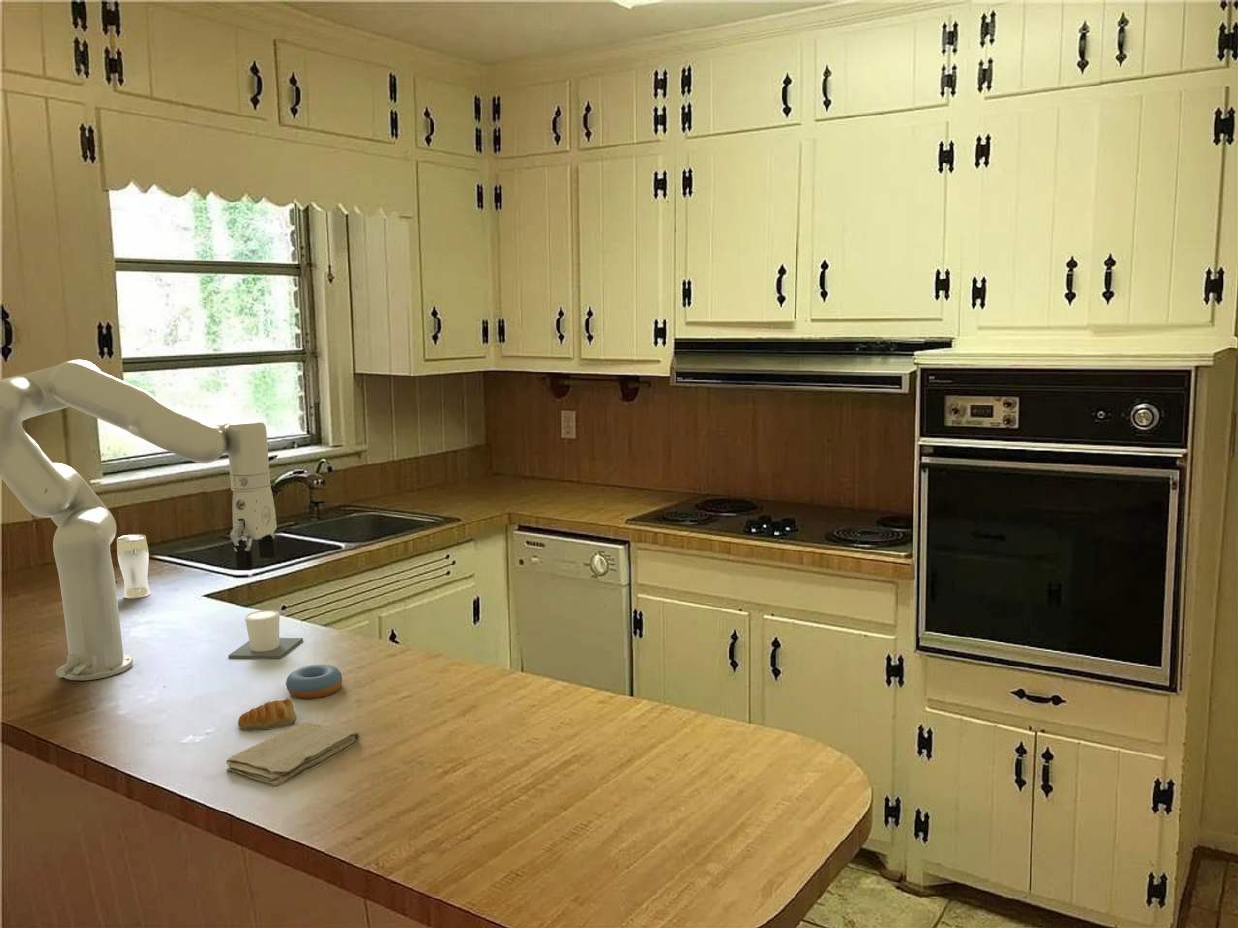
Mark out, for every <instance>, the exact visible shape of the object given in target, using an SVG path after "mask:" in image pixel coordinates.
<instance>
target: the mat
mask: <svg viewBox="0 0 1238 928" xmlns="http://www.w3.org/2000/svg"><path fill="white" fill-rule="evenodd" d="M303 641H304V638H303V637H279V646H278V647H277V648H275V649H273V650H269V651H258V652H257V651H253V650H251V647H250V641H249V640H248V641H247V642H245V643H244V644H242V645H241V646H240V647H238V648H236V649H235V650H234V651H232V652H231V653H230V654H228V659H255V658H273V659H274V658H276V659H274V660H279V659H282V658H283V657H284V656H286V655H287V654H289V652H290V650H291V651H292V650H293V649H294V648H296V647H297V646H299V645H300V644H301V643H302V642H303ZM285 654H286V655H285ZM273 659H272V660H273Z"/></svg>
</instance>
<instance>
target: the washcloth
mask: <svg viewBox="0 0 1238 928" xmlns="http://www.w3.org/2000/svg"><path fill="white" fill-rule="evenodd" d="M360 738H361V735H360V733H359V732H356V731H355V730H354V731H353V730H348V729H343V728H333V727H329V726H327V725H324V724H319V723H315V722H309V721H305V722H302V723H300V724H298V725H295V726H293V727H292V728H290V729H287V730H285V731H281V732H280V733H278V734H275V735H274V736H271V737H270V738H268V739H267V738H266V739H265V740H263V741H261V742H259V743H257V744H255V745H254V746H251V747H249V748H247V749H245V750H243V751H240V752H237V754H236V753H235V754H234V755H232V756H230V757H229V758H228V759H227V760H226V761H225V762H226V765H227V766H228V768H227V769H226V773H230V772H231V773H232V775H234V776H236V777H238V778H241V779H242V778H243V779H246V780H249V781H253V782H256V783H259V784H263V785H267V786H270V787H275V786H279V785H281V784H284V783H287V782H289V781H290V780H293V779H295V778H297V777H300V776H301V775H303V774H305V773H307V772H309V771H310V770H312V769H314V768H317V766H319V765H321V764H323V763H326V762H327V761H329V760H330V759H333V758H334V757H336V756H338V755H339V754H341V753H343V752H345V751H347V750H348V749H350V748H353V747H354V746H356V745H357V744H358V743H359V741H360Z"/></svg>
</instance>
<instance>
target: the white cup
mask: <svg viewBox="0 0 1238 928" xmlns="http://www.w3.org/2000/svg"><path fill="white" fill-rule="evenodd" d="M280 618H281V616H280V611H277V610H274V609H267V610H266V609H265V610H258V611H253V612H250V613H247V614H246V615H245V616H244V619H245V620H244V621H245V625H246V629H247V630H246V631H247V635H248V641H250V647H251V650H253V651H257V652H258V651H269V650H273V649H275V648H277V647H278V646H279V638H280Z"/></svg>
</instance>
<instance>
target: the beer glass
mask: <svg viewBox="0 0 1238 928" xmlns="http://www.w3.org/2000/svg"><path fill="white" fill-rule="evenodd" d="M116 553H117V560H118V561H117V562H118V565H119V568H120V572H121V575H122V578H123V583H124V589H123V590H124V592H123V597H124V598H125V599H126V598H127V599H128V600H135V599H136V600H137V599H143V598H146V597H148V596H151V594H152V593H151V592H152V591H151V590H150V586H149V581H148V576H149V575H148V572H149V563H150V562H149V561H150V560H149V557H150V556H149V546H148V542H147V536H146V535H145V534H140V533H139V534H138V533H137V534H128V535H122V536H120V537H117V538H116Z"/></svg>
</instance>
